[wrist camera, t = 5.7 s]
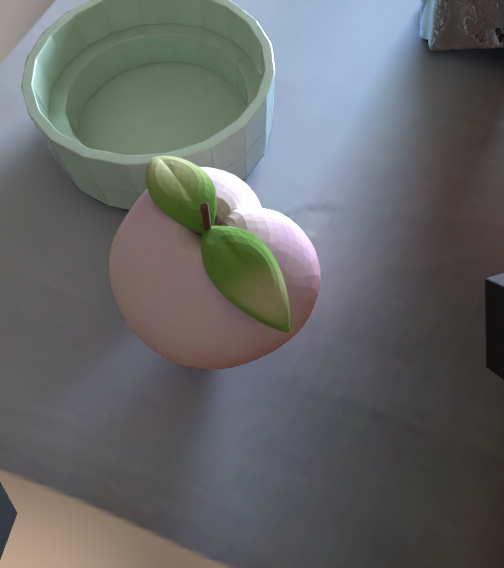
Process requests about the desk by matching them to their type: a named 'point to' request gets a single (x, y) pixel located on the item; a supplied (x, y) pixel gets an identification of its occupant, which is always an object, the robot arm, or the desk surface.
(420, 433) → the desk surface
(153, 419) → the desk surface
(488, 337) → the robot arm
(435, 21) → the grey blocky piece
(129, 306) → the decorative fruit
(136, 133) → the bowl
